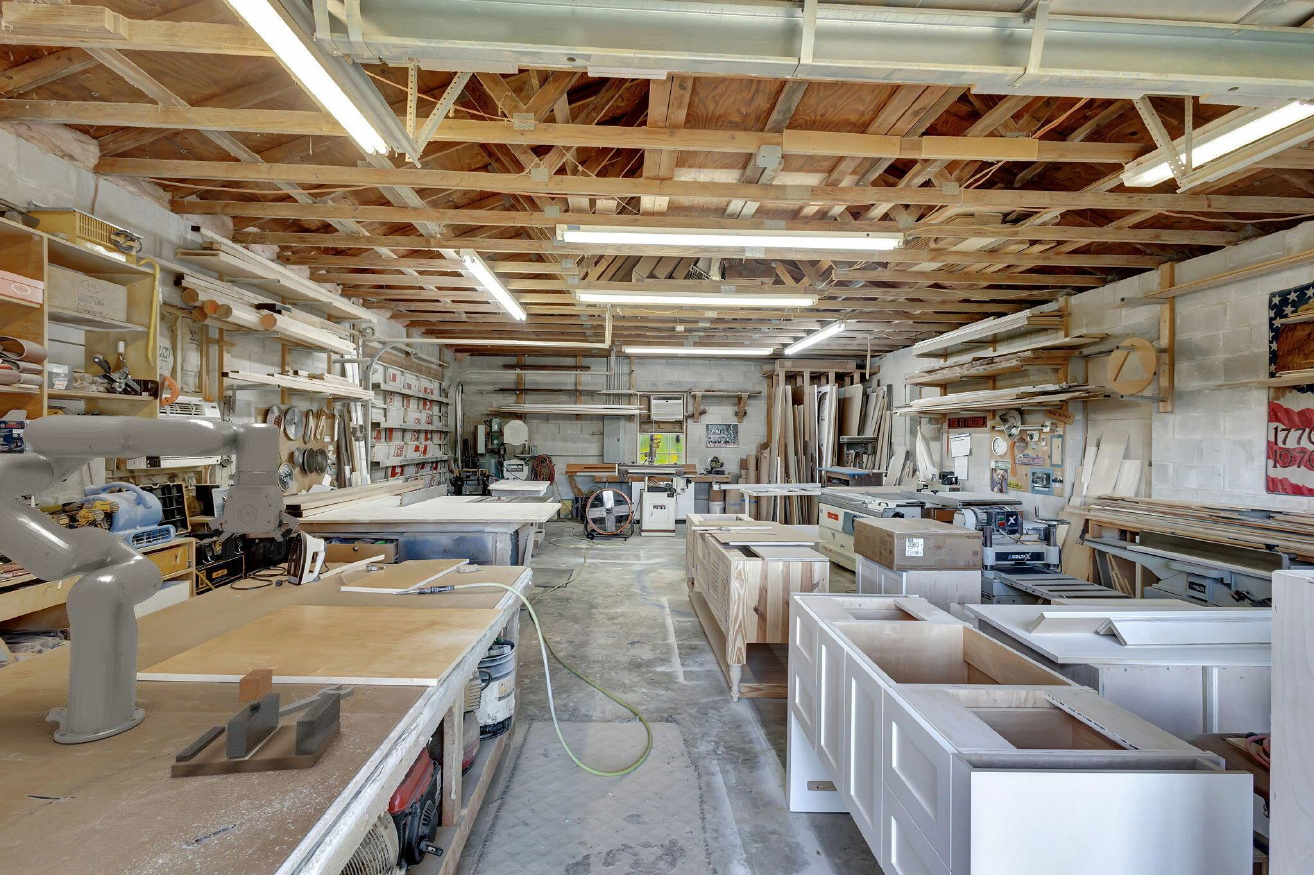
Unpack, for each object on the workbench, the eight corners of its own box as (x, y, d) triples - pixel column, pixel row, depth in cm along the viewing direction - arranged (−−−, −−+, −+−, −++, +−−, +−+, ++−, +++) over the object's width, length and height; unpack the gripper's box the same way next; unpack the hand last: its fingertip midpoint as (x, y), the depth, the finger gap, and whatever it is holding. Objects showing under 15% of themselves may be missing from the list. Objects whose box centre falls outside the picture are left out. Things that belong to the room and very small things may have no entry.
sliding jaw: (225, 757, 93) (228, 687, 93) (260, 725, 104) (263, 662, 104) (245, 755, 94) (248, 686, 94) (279, 724, 104) (281, 662, 105)
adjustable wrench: (219, 741, 104) (220, 732, 104) (210, 730, 107) (210, 721, 108) (356, 696, 123) (356, 688, 123) (344, 688, 127) (344, 680, 127)
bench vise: (170, 777, 91) (173, 729, 91) (216, 740, 103) (218, 697, 103) (312, 767, 95) (313, 721, 95) (340, 732, 107) (341, 691, 107)
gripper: (200, 480, 111) (196, 563, 111) (291, 481, 114) (288, 562, 113) (222, 478, 118) (219, 556, 118) (308, 479, 121) (305, 555, 121)
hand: (253, 559), depth 116 cm, fingers open, 9 cm apart
